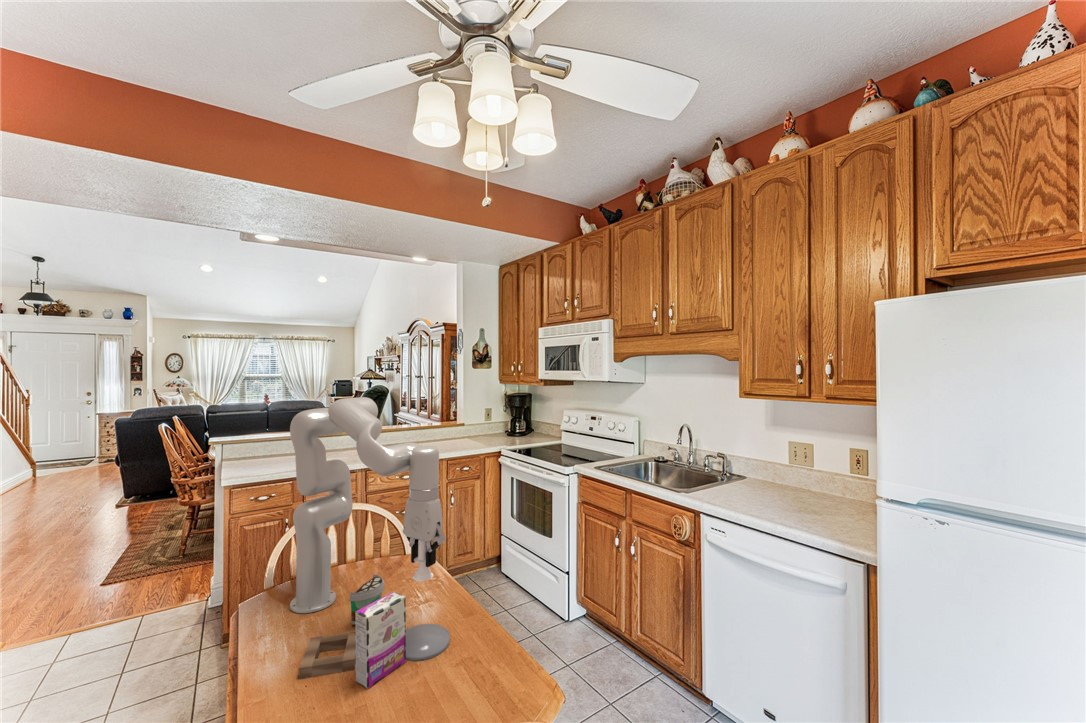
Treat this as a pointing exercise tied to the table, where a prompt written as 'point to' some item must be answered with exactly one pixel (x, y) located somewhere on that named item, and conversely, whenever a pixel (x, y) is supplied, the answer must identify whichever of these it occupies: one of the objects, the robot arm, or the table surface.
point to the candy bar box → (380, 638)
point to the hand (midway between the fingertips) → (423, 562)
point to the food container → (366, 595)
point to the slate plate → (426, 641)
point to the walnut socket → (331, 664)
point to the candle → (422, 563)
